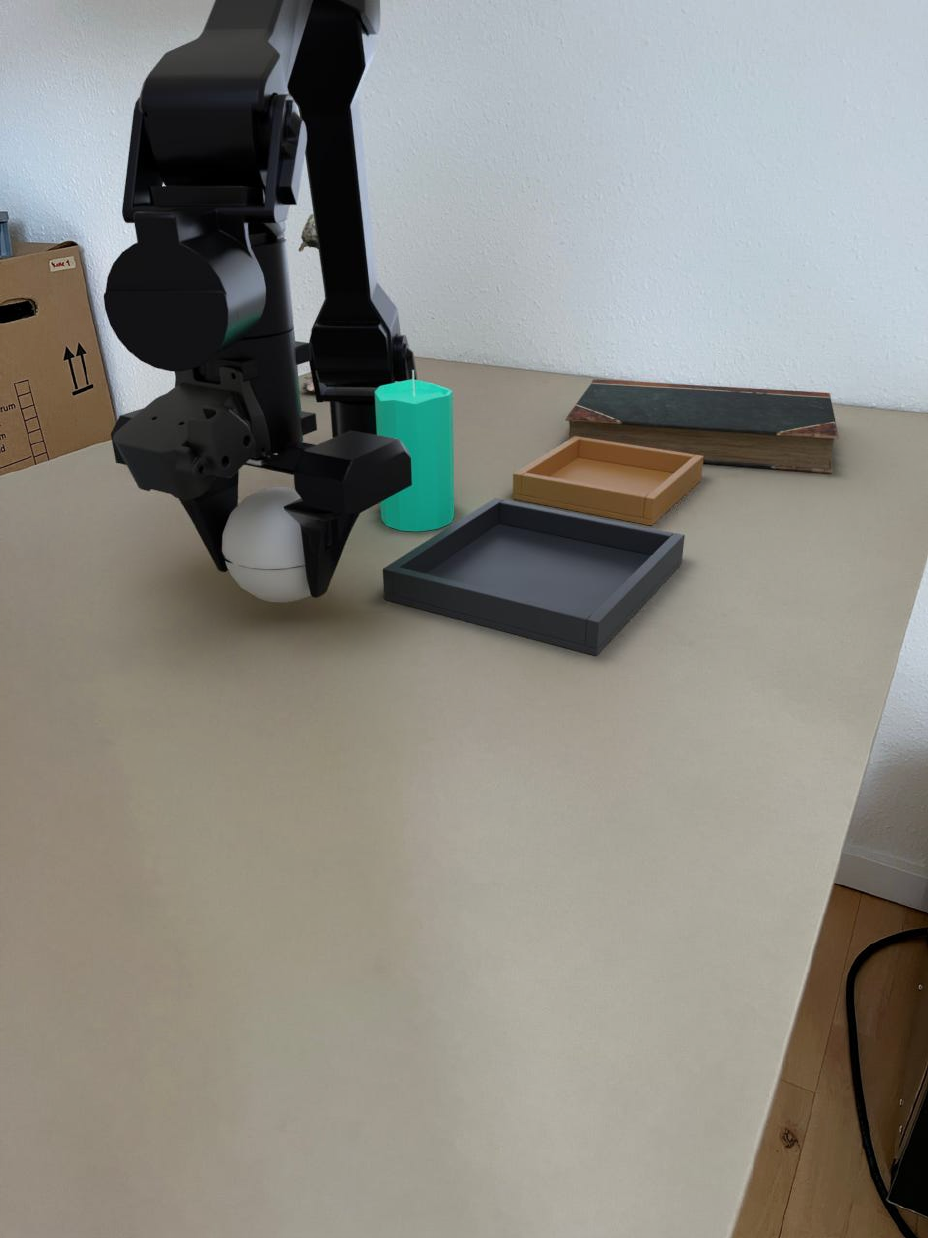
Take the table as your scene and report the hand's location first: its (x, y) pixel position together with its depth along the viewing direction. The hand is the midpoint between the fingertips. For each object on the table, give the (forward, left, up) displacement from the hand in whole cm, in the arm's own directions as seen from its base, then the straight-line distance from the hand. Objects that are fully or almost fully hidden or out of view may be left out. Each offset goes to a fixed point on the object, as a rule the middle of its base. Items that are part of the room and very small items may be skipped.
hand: (271, 582), depth 60 cm
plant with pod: (-33, +52, -3) cm, 62 cm away
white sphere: (+1, 0, -2) cm, 2 cm away
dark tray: (+12, +14, -3) cm, 19 cm away
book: (+11, +53, -3) cm, 54 cm away
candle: (-2, +20, -3) cm, 20 cm away
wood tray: (+9, +34, -3) cm, 35 cm away
